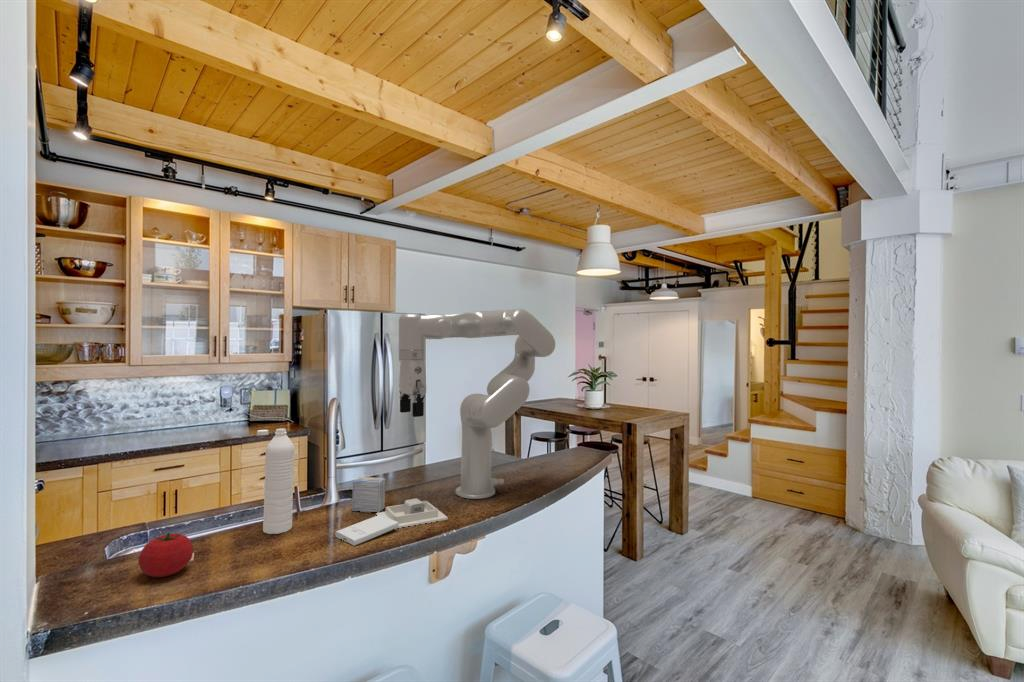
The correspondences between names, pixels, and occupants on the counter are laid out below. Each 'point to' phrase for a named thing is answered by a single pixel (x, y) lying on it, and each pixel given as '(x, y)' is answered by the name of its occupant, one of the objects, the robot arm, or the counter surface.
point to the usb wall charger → (413, 506)
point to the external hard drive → (366, 529)
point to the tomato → (165, 555)
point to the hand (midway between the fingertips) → (411, 414)
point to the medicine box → (368, 494)
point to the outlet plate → (413, 515)
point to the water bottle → (278, 483)
